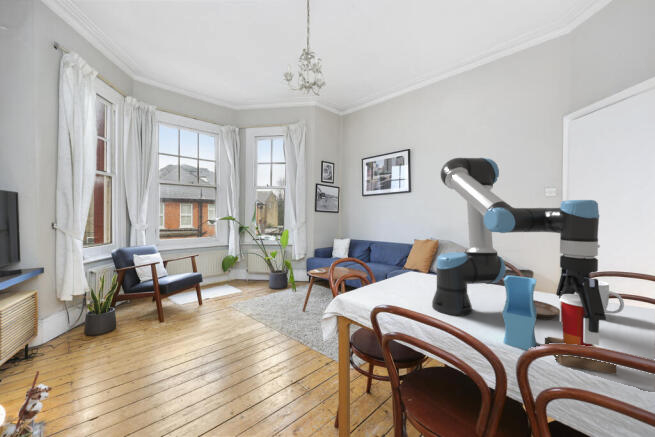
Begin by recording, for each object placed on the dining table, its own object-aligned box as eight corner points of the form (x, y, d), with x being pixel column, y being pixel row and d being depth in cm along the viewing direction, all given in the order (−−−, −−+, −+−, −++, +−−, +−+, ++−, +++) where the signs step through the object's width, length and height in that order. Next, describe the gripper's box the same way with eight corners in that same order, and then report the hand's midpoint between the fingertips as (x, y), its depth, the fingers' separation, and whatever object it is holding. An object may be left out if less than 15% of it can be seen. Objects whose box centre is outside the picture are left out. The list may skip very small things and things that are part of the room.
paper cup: (592, 345, 74) (592, 296, 73) (601, 358, 67) (602, 304, 67) (555, 338, 78) (556, 291, 78) (561, 349, 71) (562, 298, 71)
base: (560, 364, 69) (561, 353, 69) (544, 345, 80) (544, 335, 80) (616, 374, 65) (616, 362, 65) (591, 352, 76) (591, 342, 75)
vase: (502, 343, 81) (503, 279, 80) (506, 334, 87) (506, 274, 86) (534, 352, 76) (535, 284, 75) (536, 342, 82) (537, 278, 81)
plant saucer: (572, 323, 96) (572, 315, 96) (519, 320, 99) (519, 312, 99) (542, 306, 113) (542, 299, 113) (497, 304, 117) (497, 297, 116)
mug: (626, 318, 99) (627, 284, 99) (620, 325, 93) (621, 289, 93) (574, 307, 111) (574, 276, 111) (565, 312, 105) (566, 280, 105)
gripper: (628, 265, 59) (626, 358, 59) (573, 250, 82) (572, 317, 82) (584, 263, 62) (583, 351, 62) (543, 249, 85) (543, 314, 85)
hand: (577, 332), depth 72 cm, fingers open, 13 cm apart
